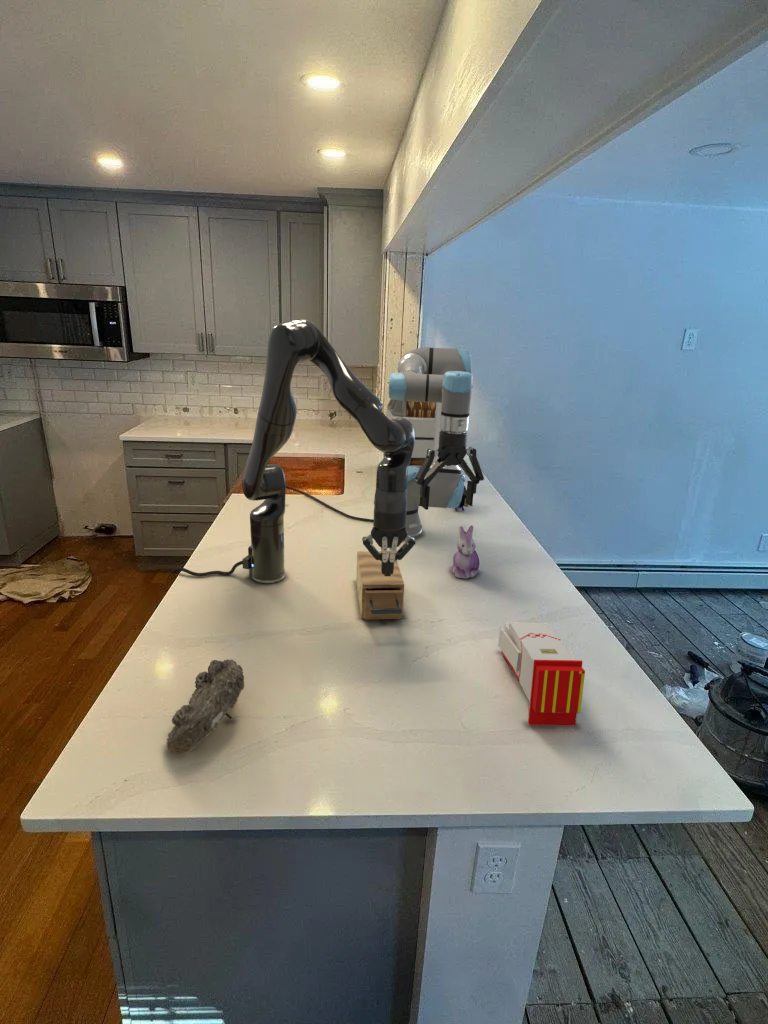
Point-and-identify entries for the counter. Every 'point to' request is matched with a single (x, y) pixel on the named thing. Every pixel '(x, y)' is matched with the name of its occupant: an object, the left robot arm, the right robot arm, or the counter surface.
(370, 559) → the cabinet
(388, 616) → the drawer
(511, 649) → the toy
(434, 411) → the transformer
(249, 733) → the counter surface
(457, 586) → the counter surface
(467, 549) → the figurine
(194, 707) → the fossil
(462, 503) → the figurine character
